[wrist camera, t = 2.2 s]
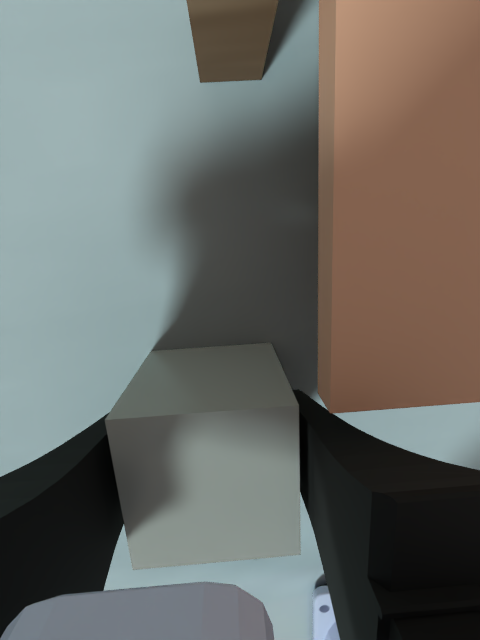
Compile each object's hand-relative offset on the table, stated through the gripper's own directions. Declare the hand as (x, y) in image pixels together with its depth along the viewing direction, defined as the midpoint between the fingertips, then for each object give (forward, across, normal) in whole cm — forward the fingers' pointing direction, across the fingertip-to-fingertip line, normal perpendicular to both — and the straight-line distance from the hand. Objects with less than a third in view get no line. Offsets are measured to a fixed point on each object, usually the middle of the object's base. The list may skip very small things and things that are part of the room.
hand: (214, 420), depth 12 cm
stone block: (+2, 0, 0) cm, 2 cm away
